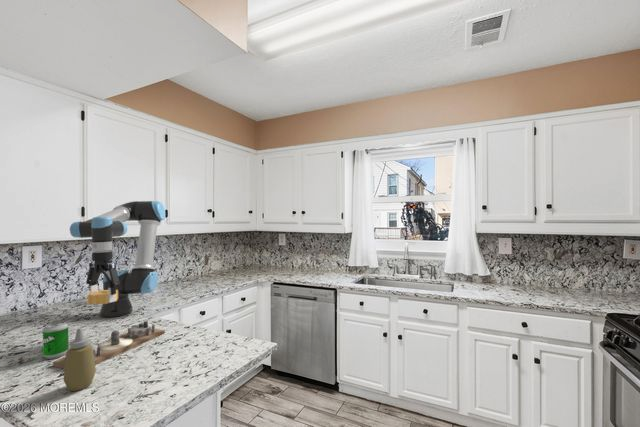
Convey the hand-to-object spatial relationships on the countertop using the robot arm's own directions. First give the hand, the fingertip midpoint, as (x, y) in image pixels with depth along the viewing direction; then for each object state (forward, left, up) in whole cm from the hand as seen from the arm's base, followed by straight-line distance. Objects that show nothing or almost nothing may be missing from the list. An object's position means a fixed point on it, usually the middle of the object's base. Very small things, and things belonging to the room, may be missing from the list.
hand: (103, 300), depth 137 cm
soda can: (+19, 0, -16) cm, 25 cm away
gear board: (+7, +16, -16) cm, 24 cm away
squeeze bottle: (+31, +33, -16) cm, 48 cm away
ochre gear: (0, 0, 0) cm, 0 cm away
